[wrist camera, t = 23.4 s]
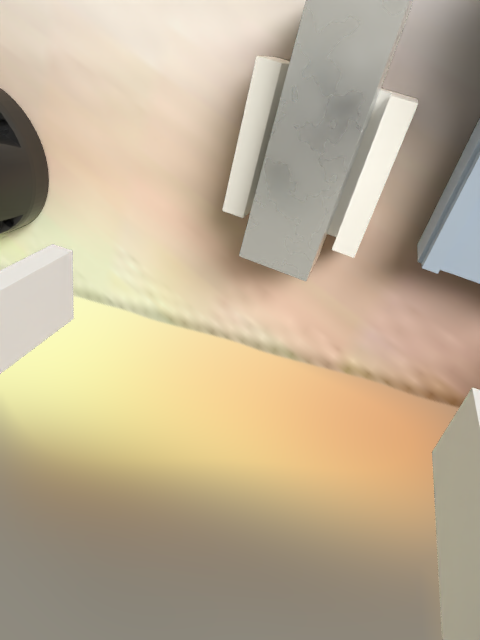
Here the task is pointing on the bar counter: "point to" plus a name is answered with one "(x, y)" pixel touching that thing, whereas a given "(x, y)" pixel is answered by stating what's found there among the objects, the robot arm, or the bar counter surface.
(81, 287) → the bar counter surface
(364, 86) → the grey long rectangular block
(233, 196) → the cradle
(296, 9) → the bar counter surface
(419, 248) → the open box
